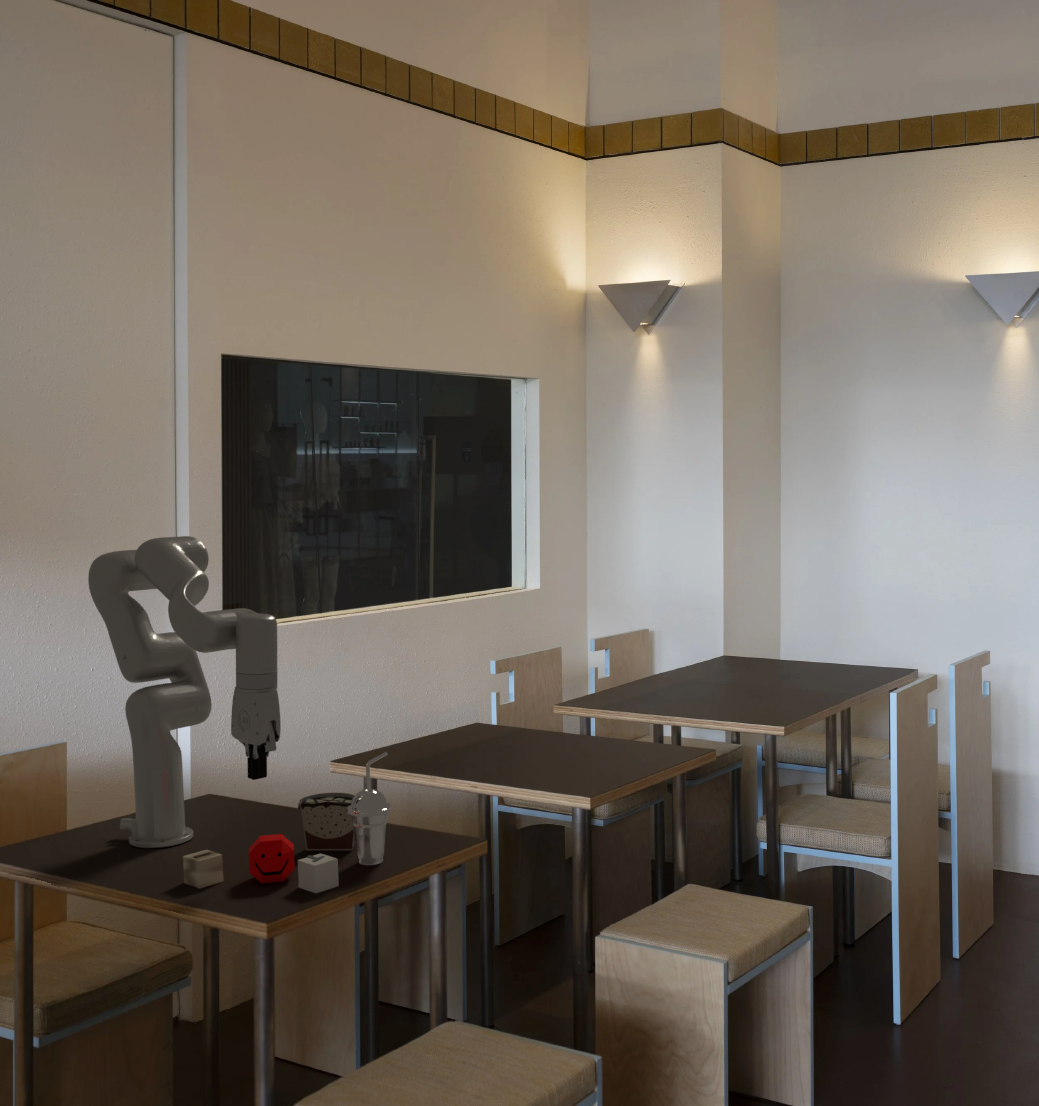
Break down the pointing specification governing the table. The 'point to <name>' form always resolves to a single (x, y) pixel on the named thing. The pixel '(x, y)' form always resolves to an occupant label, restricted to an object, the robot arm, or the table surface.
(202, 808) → the table surface
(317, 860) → the off-white block numbered 7
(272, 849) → the ball
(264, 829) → the table surface
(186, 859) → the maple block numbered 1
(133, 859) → the table surface
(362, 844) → the cup with straw
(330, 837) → the food container
